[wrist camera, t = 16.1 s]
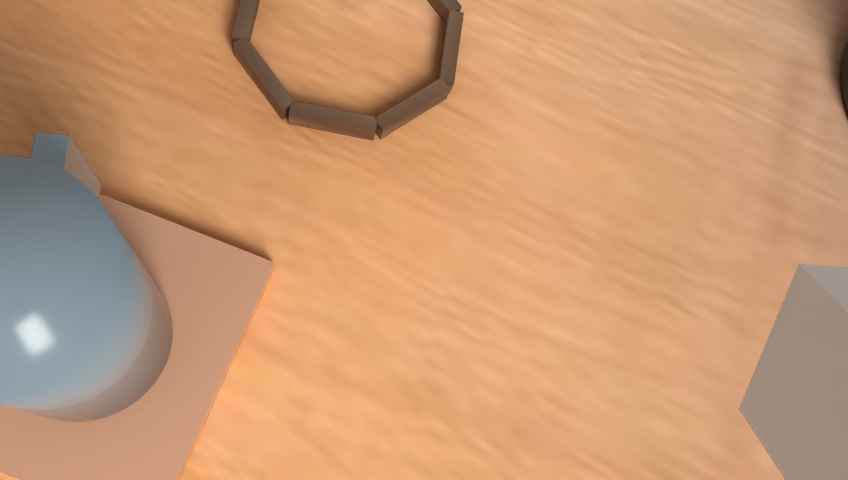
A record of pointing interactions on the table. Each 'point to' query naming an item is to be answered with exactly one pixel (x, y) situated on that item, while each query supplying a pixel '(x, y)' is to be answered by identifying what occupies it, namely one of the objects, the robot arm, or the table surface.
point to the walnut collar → (339, 119)
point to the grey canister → (71, 293)
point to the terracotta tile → (181, 377)
